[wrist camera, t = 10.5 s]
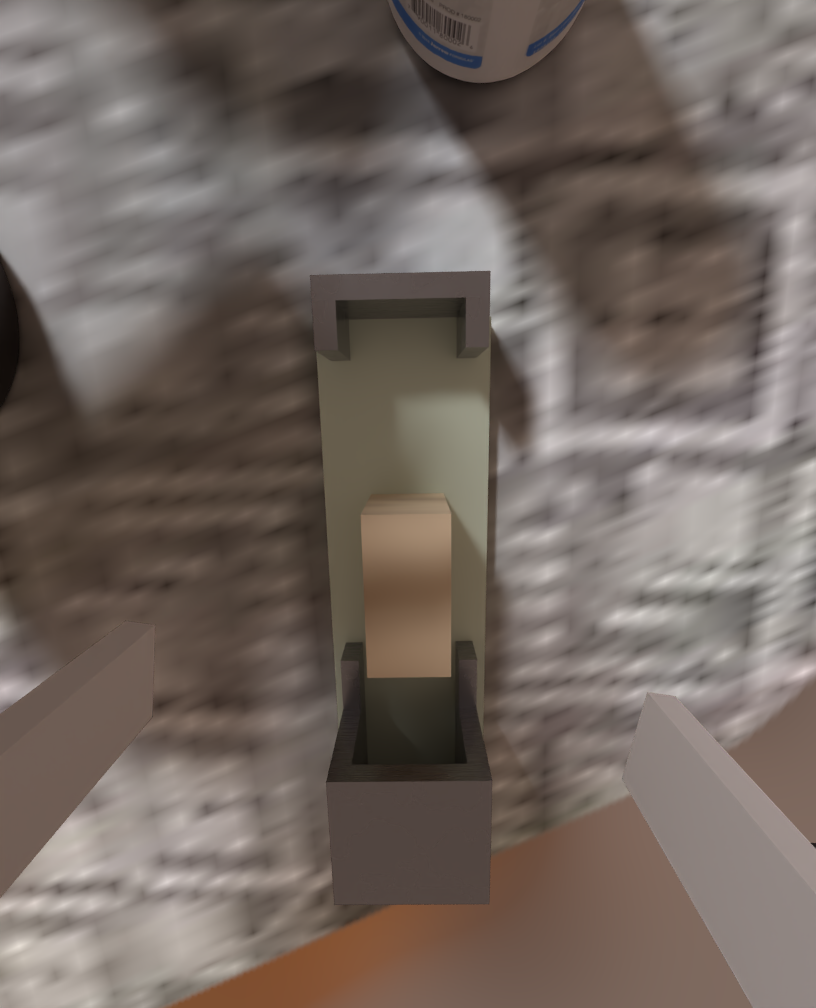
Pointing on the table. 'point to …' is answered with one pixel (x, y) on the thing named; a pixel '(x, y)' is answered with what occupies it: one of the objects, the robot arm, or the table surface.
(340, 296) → the cap
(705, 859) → the robot arm
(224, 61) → the table surface
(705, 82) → the table surface
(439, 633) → the brown block
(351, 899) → the cap
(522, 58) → the supplement tub
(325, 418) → the board
